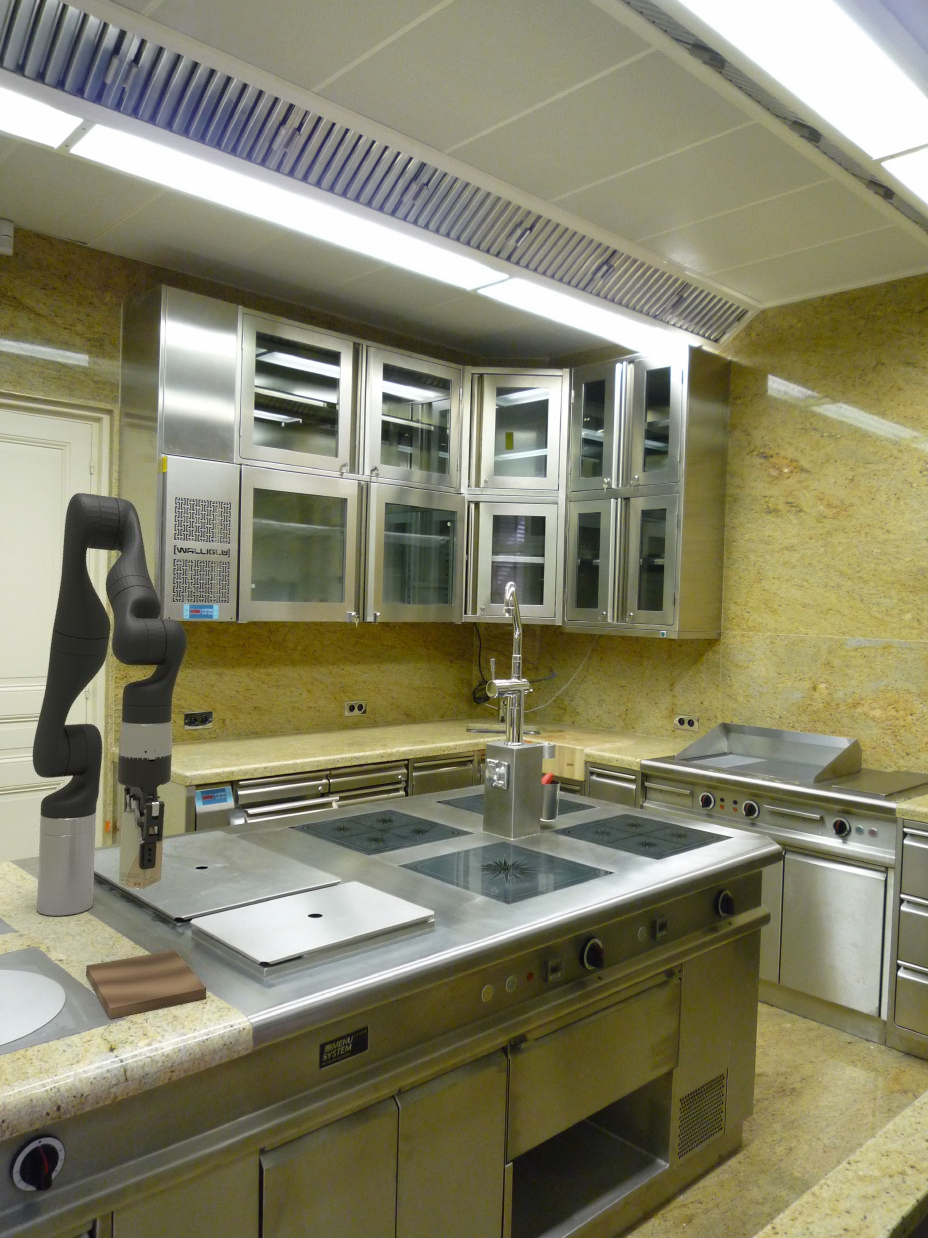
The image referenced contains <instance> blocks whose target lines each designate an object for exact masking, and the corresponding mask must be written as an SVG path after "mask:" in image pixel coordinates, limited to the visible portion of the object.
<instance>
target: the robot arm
mask: <svg viewBox="0 0 928 1238" xmlns="http://www.w3.org/2000/svg"><path fill="white" fill-rule="evenodd" d="M68 502H69V503H68V504H67V509H66V513H65V521H64V531H63V546H62V548H63V549H62V561H61V563H62V564H61V576H60V584H59V585H60V586H59V592H58V599H57V603H56V604H57V605H56V610H55V615H54V620H53V621H54V622H53V627H52V634H51V641H50V647H49V649H50V651H49V658H48V659H49V660H48V667H47V677H46V682H45V691H44V693H43V695H44V696H43V700H42V705H41V708H40V714H39V717H38V721H37V724H36V728H35V729H36V730H35V734H34V739H33V740H34V741H33V747H32V765H33V770H34V771H35V773H36V774H37V776H39V777H40V778H44V779H46V778H47V779H52V778H53V779H54V778H63V777H71V776H72V777H71V780H70V781H69V782H68V783H67V784H65V785H64V786H63V787H61V788H59V789H58V790H56V791H54V792H52V793H50V794H47V795H46V796H45V797H44V798H43V799H42V800H41V802H40V820H39V849H38V850H39V853H38V875H37V893H36V894H37V895H36V896H37V897H36V898H37V899H36V912H38V913H39V914H42V915H46V916H70V915H74V914H80V913H83V912H85V911H87V910H89V909H91V908H92V907H93V901H94V900H93V899H94V883H95V882H94V877H95V857H96V855H95V853H96V852H95V850H96V829H97V828H96V824H97V823H96V822H97V803H98V800H99V795H100V794H99V793H100V783H101V782H100V781H101V773H102V772H101V770H102V760H103V740H102V734H101V731H100V730H99V728H98V726H96V724H92V723H77V724H66V721H67V719H68V715H69V712H70V710H71V708H72V706H73V705H74V703H75V701H76V699H77V698H78V697H79V695H80V694H81V693H82V692H83V691H84V689H85V688H86V687H87V686H88V685H89V684H90V683H91V681H93V679H94V678H95V677H96V676H97V674H98V673H99V672H100V670H101V668H102V667H104V663H105V662H106V659H107V657H108V656H107V655H108V649H109V642H110V637H111V627H112V626H111V625H112V624H111V620H110V617H109V615H108V613H107V610H106V608H105V606H104V604H103V602H102V601H101V598H100V597H99V595H98V593H97V592H96V591H97V590H96V589H95V586H93V582H92V580H91V577H90V575H89V571H88V565H87V553H88V549H91V550H100V551H101V550H104V551H111V552H112V551H119V552H120V556H119V557H118V559H116V561H115V562H114V564H113V565H112V566H111V567H110V569H109V571H108V572H107V575H106V580H105V591H106V596H107V599H108V601H109V604H110V607H111V610H112V612H113V613H112V614H113V633H112V637H111V640H112V641H111V649H112V653H113V655H114V657H115V658H116V659H117V660H118V661H119V662H120V663H122V664H123V665H126V666H156V668H155V670H154V671H153V673H152V675H150V676H149V677H147V678H144V679H140V680H136V681H132V682H128V683H127V684H126V685H125V686H124V688H123V692H122V700H121V701H122V704H121V705H122V706H121V726H120V731H119V737H118V759H117V760H118V761H117V782H118V784H119V785H122V786H124V789H123V791H124V793H123V794H124V796H123V797H124V807H123V808H124V810H123V812H126V811H129V810H131V809H132V810H133V811H134V821H135V828H136V829H138V830H139V842H140V850H139V867H140V868H141V869H142V870H144V869H152V868H154V867H155V865H156V843H158V842H159V841H162V838H163V839H164V835H163V836H162V833H163V834H164V829H163V819H164V820H165V810H164V809H165V806H166V804H165V802H164V801H163V800H162V801H161V797H160V795H159V794H158V787H160V786H161V785H166V784H168V783H169V782H170V781H171V777H172V755H173V753H172V752H173V751H172V749H173V730H172V729H173V728H172V709H173V694H174V689H175V686H176V682H177V678H178V674H179V671H180V668H181V666H182V662H183V661H184V657H185V654H186V650H187V645H188V637H187V632H186V630H185V627H184V626H183V624H181V622H179V621H178V620H176V619H172V618H169V619H168V618H160V615H161V613H162V606H161V605H162V604H161V602H160V599H159V596H158V594H157V591H156V589H155V586H154V584H153V581H152V578H151V576H150V573H149V570H148V565H147V557H146V552H145V545H144V539H143V532H142V527H141V521H140V517H139V514H138V512H137V509H136V507H135V505H134V504H133V503H132V502H131V501H130V500H128V499H125V498H120V497H112V496H107V495H100V494H99V495H98V494H94V493H93V494H92V493H86V492H85V493H84V492H77V493H75V494H74V495H72V497H71V498H70V500H69V501H68ZM140 817H144V822H142V821H141V820H140ZM149 828H152V830H153V834H149Z"/></svg>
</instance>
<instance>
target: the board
mask: <svg viewBox="0 0 928 1238" xmlns="http://www.w3.org/2000/svg"><path fill="white" fill-rule="evenodd" d="M85 969H86V970H85V977H86V978H87V981H88V982H89V983H90V986H91V987H92V990H93V991H94V992H95V994H96V996H97V998H98V1000H99V1003H100V1004H101V1005H102V1008H103V1010H104V1011H105V1013H106V1014H107V1016H108V1019H110V1020H113V1019H117V1018H122V1017H127V1016H132V1015H136V1014H140V1013H145V1012H149V1011H150V1010H151V1011H155V1010H159V1008H160V1009H164V1008H163V1007H165V1008H169V1007H173V1005H174V1006H177V1005H182V1004H188V1003H192V1002H193V1003H194V1002H196V1001H202V1000H206V999H207V987H206V986H205V985H204V984H203V982H202V981H201V979H199V978H198V976H197V975H196V974H195V973H194V972H193V970H192V969H191V968H190V967H189V965H187V963H186V962H185V960H183V958H182V957H181V956H180V955H179V953H178V952H177V951H176V950H175V949H171V950H166V951H160V952H155V953H154V952H153V953H148V954H143V955H138V956H132V957H126V958H121V959H115V960H109V961H103V962H99V963H92V964H87V965H86V966H85ZM168 1006H169V1007H168Z"/></svg>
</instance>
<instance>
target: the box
mask: <svg viewBox="0 0 928 1238" xmlns="http://www.w3.org/2000/svg"><path fill="white" fill-rule="evenodd" d="M164 811H165V808H164ZM140 820H141V821H142V822H144V817H140ZM164 827H165V818H164V819H163V830H164V829H165V828H164ZM149 834H153V830H152V828H149ZM162 836H163V838H162V841H159V842H158V843H156V865H155V867H154V868H152V869H144V870H142V869H141V868H140V867H139V850H140V842H139V830H138V829H136V828H135V821H134V811H133V810H132V809H131V810H129V811H126V812H124V811H123V812H122V814H121V830H120V848H119V849H120V850H119V869H118V870H119V871H118V887H123V888H135V889H142V890H143V889H147V888H148V887H150V886H152V885H155V884H156V883H159V882H160V881H161V880H162V868H163V850H164V849H163V847H164V844H163V843H164V832H163V833H162Z"/></svg>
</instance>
